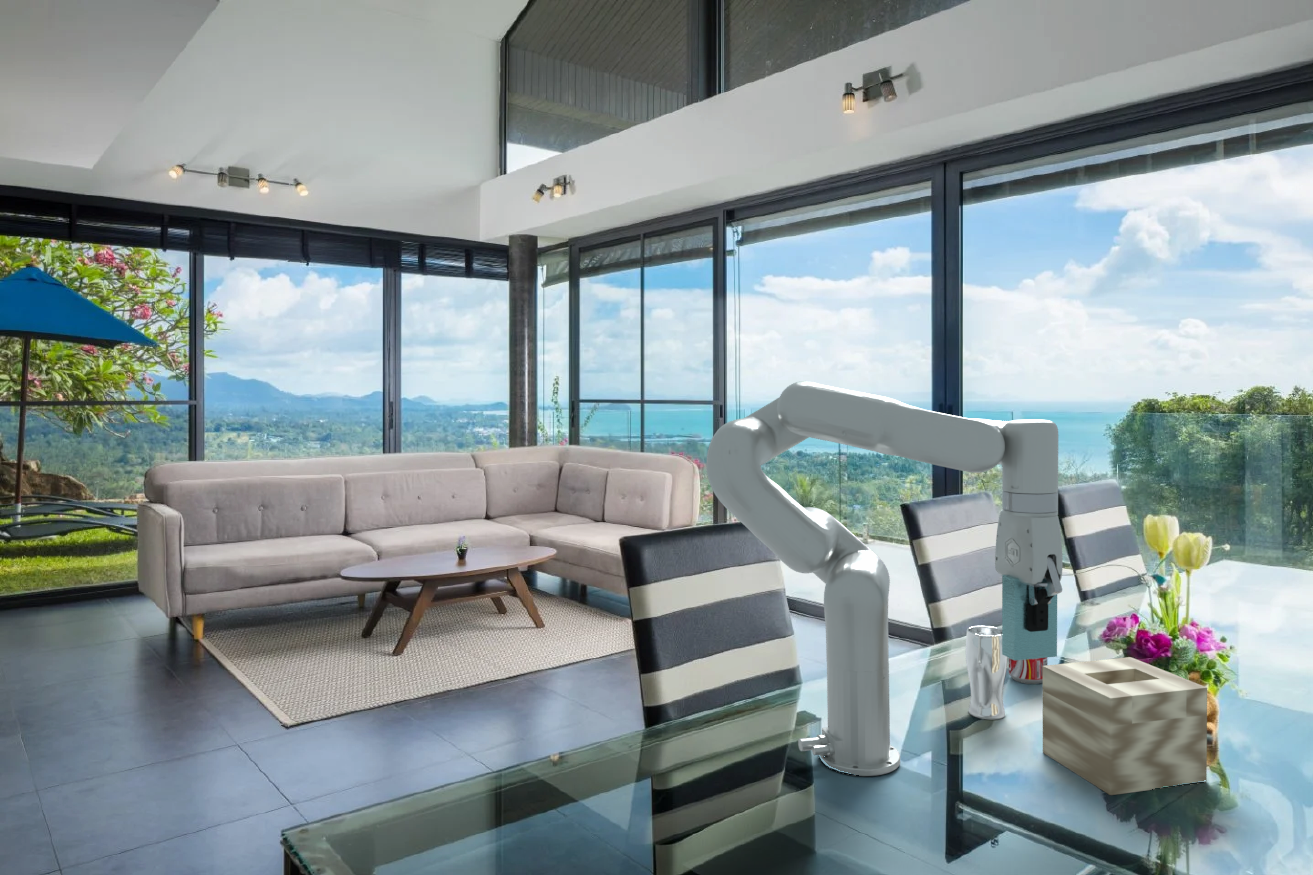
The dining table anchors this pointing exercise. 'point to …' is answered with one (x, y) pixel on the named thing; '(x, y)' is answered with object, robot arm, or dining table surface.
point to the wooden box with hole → (1125, 724)
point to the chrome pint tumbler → (986, 671)
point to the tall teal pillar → (1014, 621)
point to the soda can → (1027, 670)
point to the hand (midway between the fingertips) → (1029, 625)
